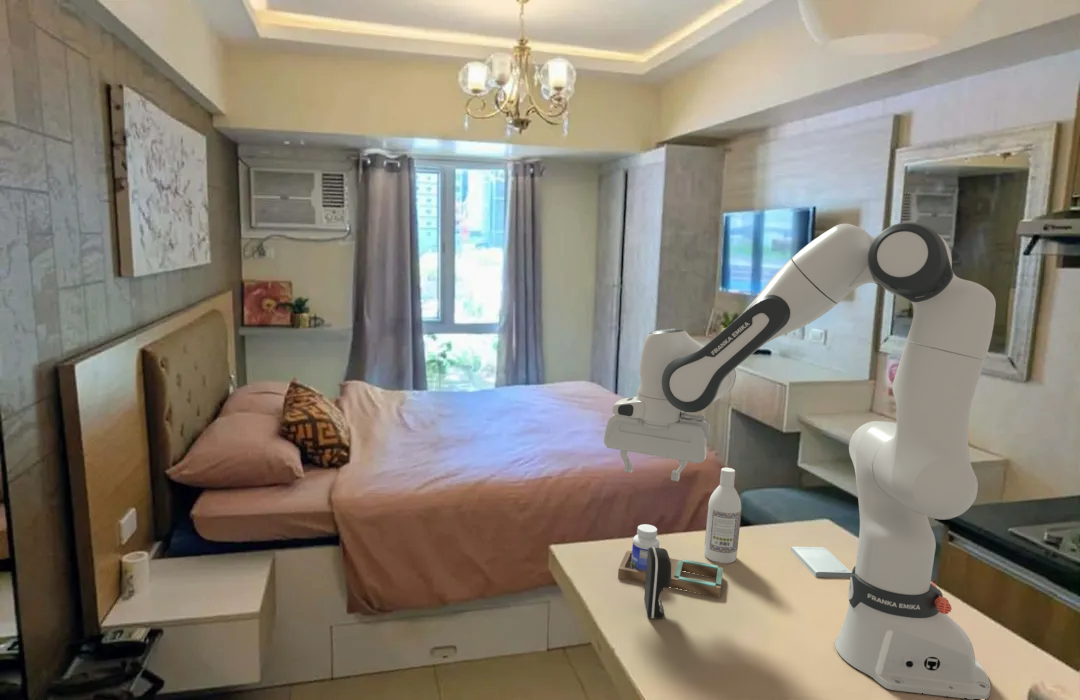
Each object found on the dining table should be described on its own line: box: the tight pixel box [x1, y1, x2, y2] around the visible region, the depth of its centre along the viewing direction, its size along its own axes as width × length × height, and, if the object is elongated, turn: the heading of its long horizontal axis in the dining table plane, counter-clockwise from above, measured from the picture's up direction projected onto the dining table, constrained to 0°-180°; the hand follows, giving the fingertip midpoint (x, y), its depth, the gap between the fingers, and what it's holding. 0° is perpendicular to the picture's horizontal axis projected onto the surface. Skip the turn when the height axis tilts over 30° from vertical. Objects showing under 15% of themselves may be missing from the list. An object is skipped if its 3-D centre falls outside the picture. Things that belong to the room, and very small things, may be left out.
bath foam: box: [703, 467, 742, 564], centre depth 148 cm, size 7×7×20 cm
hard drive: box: [790, 546, 852, 578], centre depth 149 cm, size 2×8×12 cm
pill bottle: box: [630, 523, 660, 571], centre depth 140 cm, size 5×5×10 cm
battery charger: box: [643, 547, 671, 619], centre depth 125 cm, size 7×4×11 cm, turn 177°
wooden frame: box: [617, 549, 724, 599], centre depth 139 cm, size 20×9×2 cm, turn 72°
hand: (651, 475), depth 137 cm, fingers open, 8 cm apart
